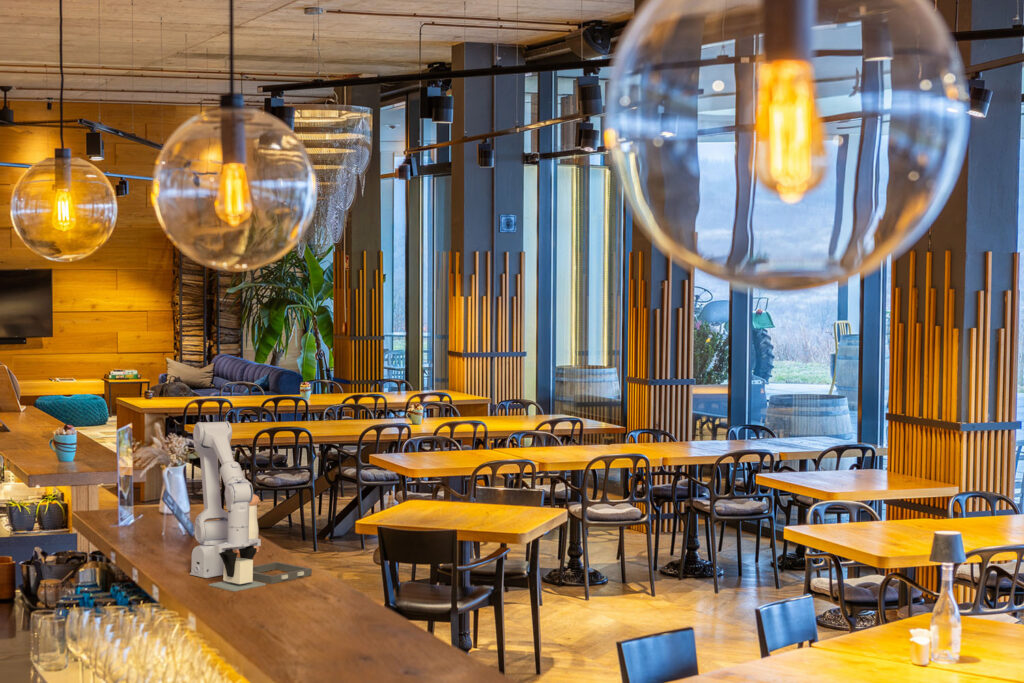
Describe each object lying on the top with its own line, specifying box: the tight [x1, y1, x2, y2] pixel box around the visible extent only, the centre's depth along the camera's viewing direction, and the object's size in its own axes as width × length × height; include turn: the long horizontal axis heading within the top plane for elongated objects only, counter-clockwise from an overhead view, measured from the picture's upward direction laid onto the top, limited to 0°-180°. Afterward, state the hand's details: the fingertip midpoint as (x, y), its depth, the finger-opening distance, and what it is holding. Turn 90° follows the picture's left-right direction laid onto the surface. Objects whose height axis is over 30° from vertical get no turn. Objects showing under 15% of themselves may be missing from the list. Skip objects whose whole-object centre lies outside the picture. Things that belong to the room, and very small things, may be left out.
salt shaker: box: [235, 493, 260, 554], centre depth 365 cm, size 7×7×19 cm
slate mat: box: [208, 580, 267, 592], centre depth 316 cm, size 11×11×1 cm
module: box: [222, 556, 254, 584], centre depth 316 cm, size 4×7×6 cm, turn 52°
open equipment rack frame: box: [253, 561, 312, 585], centre depth 329 cm, size 15×16×2 cm
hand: (237, 575), depth 316 cm, fingers closed on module, 4 cm apart
